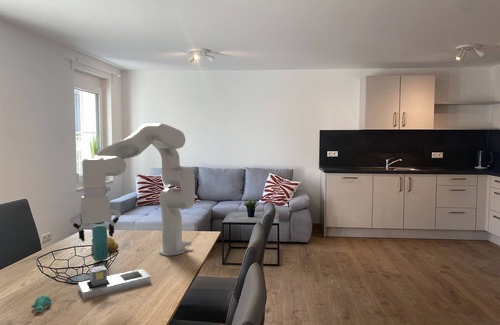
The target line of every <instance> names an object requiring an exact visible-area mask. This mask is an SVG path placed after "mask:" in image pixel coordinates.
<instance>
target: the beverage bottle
mask: <svg viewBox="0 0 500 325" xmlns="http://www.w3.org/2000/svg"><path fill="white" fill-rule="evenodd" d="M104 224H105V222H102V223H95V224H94V226H93V227H92V228H91V231H92V232H91V233H92V235H91V236H92V238H93V244H92V243H91V246H92V245H93V252H92V258H93V261H96V262H101V261H105V260H108V259H109V252H108V243H107V241H108V240H107V239H108V238H107V237H109V236H108V227H107V226H106V225H104Z"/></svg>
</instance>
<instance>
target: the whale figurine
mask: <svg viewBox="0 0 500 325" xmlns="http://www.w3.org/2000/svg"><path fill="white" fill-rule="evenodd" d="M52 304H53V303H52V299H51V297H50V296H48V295H40V296H38V297H37V298H36V299H35V301H34V303H33V304H31V309H34V310H33V311H34V313H40V312H43V311H45V310H46V309H47V308H49V307H50V306H52Z"/></svg>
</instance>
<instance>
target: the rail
mask: <svg viewBox="0 0 500 325" xmlns="http://www.w3.org/2000/svg"><path fill="white" fill-rule="evenodd" d="M151 283H152V276H151V275H150V274H149V273H148V271H146V270H145V269H144V268H139V269H134V270H130V271H125V272H120V273H115V274H112V275H107V285H105V286H101V287H96V288H92V289H90V279H89V280H84V281H81V282H80V281H79V282H78V283H77V285H78V288H77V289H78V292H79V293H80V296H81V299H82V300H85V299H89V298H90V299H91V298H94V297H98V296H102V295H106V294H111V293H114V292H119V291H123V290H127V289H131V288H134V287H140V286H143V285H147V284H151Z"/></svg>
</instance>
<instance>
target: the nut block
mask: <svg viewBox="0 0 500 325" xmlns="http://www.w3.org/2000/svg"><path fill="white" fill-rule="evenodd" d="M107 270H108V269H107V268H106V267H105V265H104V264H103V265H98V266H93V267H89V280H90V288H89V289H92V288H96V287H101V286H105V285H107V276H108V271H107Z"/></svg>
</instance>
